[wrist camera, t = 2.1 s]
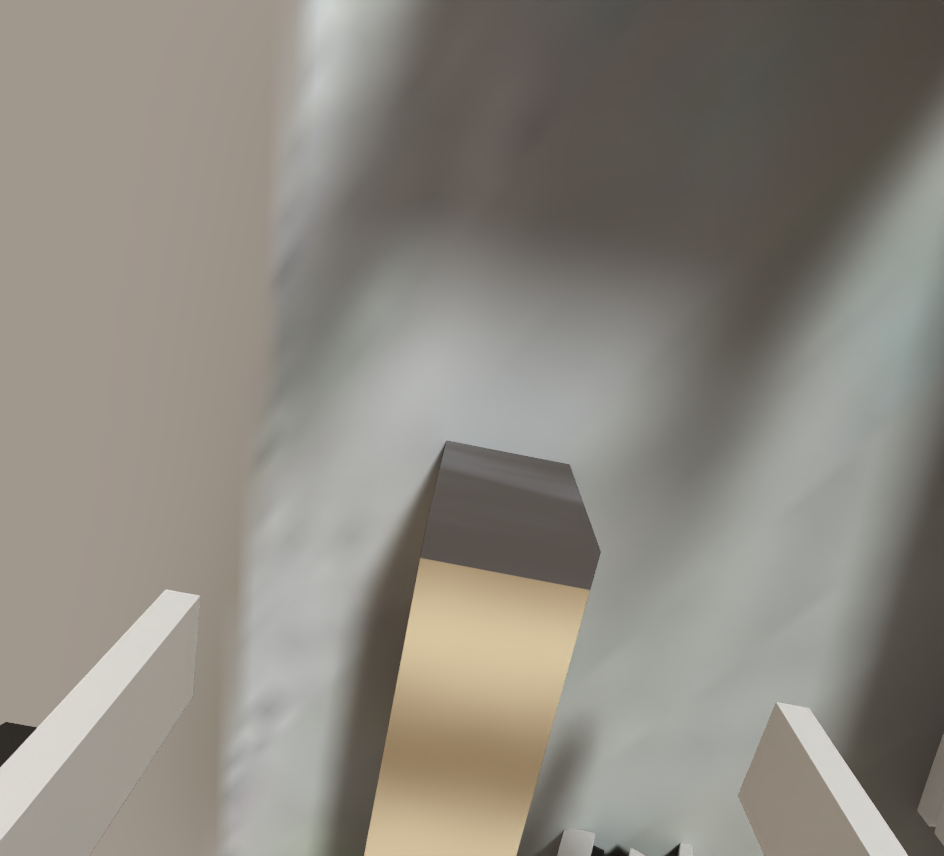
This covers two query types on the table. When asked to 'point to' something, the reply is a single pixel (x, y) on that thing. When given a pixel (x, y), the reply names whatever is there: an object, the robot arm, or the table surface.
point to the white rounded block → (580, 850)
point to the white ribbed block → (934, 795)
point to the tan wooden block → (483, 655)
